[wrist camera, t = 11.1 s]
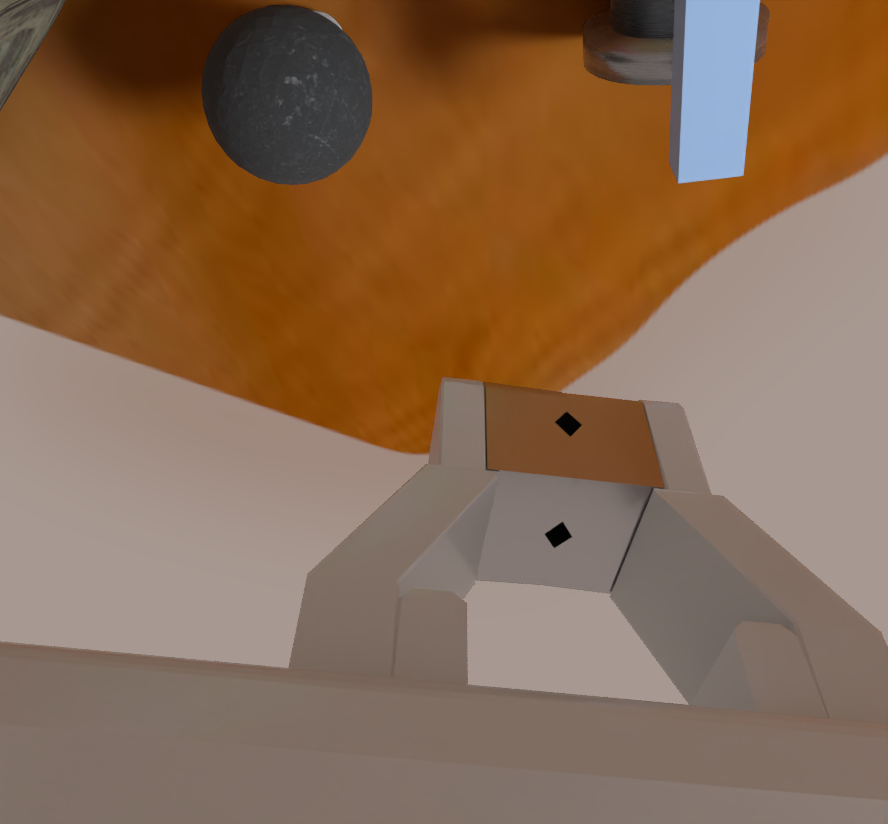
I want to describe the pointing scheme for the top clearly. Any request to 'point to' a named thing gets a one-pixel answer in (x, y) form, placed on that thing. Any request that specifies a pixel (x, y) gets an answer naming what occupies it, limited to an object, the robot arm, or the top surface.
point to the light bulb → (287, 94)
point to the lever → (711, 87)
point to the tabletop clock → (22, 37)
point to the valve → (641, 41)
